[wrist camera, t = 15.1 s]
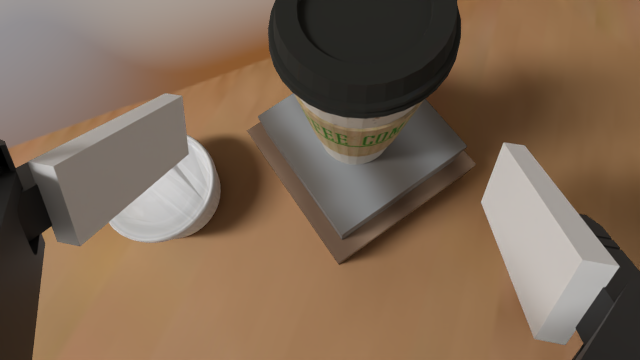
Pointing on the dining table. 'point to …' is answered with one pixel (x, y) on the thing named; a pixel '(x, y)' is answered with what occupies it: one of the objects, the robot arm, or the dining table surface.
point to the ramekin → (174, 201)
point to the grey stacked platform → (359, 174)
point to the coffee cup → (362, 65)
